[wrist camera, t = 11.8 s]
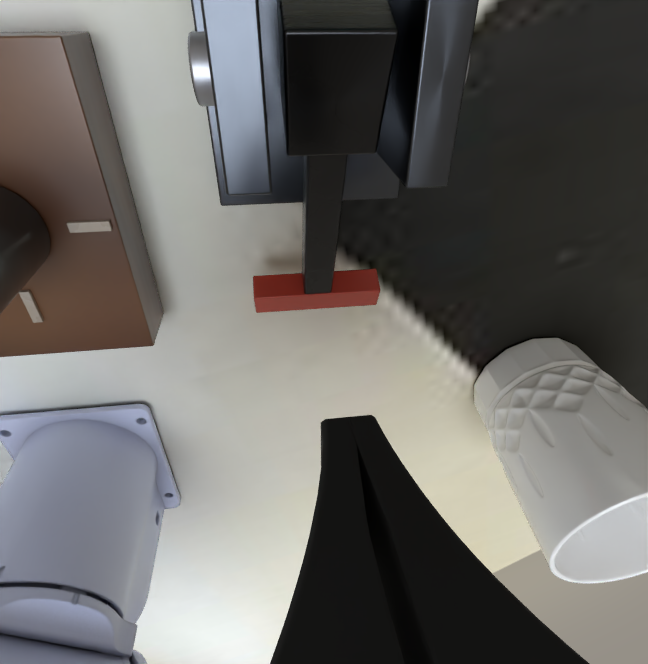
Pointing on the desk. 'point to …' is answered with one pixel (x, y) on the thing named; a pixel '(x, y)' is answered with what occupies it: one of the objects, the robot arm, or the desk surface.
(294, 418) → the desk surface
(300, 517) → the desk surface
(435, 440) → the desk surface
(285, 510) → the desk surface
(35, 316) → the console
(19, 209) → the dial
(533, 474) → the white cup
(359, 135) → the lever
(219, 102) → the bracket
